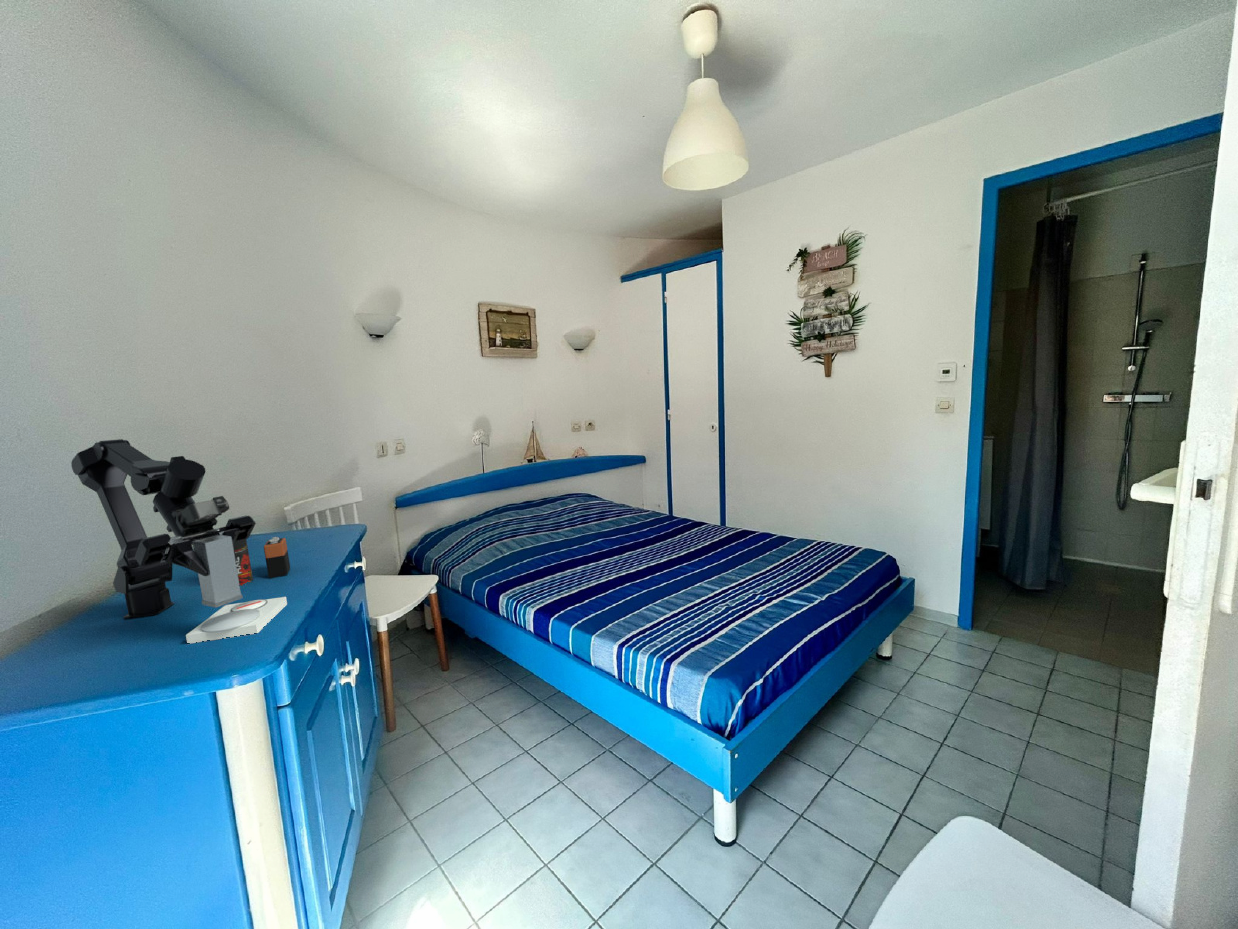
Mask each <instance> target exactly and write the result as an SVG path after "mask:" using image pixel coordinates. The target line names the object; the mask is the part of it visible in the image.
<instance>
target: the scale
mask: <svg viewBox="0 0 1238 929" xmlns="http://www.w3.org/2000/svg"><path fill="white" fill-rule="evenodd" d="M287 605H288V601H287V596H282V597H274V598H268V599H266V598H265V599H256V600H255V599H254V600H248V601H246V602H237V603H231V604H230V603H228V604H225V605H223V606H221V608H219V609H218V610H217V611H216V612H215V613H213V614H211V616H209V617H208V618H207V619H205V620H204V621H202V623H200V624H198V626H196V627H195V628H194V629H192V630H191V631H189V632H188V633H186V635H185V637H186V638H185V639H186V642H187V643H190V644H196V642H197V643H202V641H204V642H208V641H207V640H210V641H216V640H222V638H224V639H227V638H226V637H230V638H235V637H234V636H237V637H241V636H240V635H244V636H247V635H246V634H250V635H255V634H254V633H257V634H258V633H260V632H261V631H262V630H263V629H264V628H265V627H266V626H267V625H268V624H269V623H270V622H271V621H272V620H273V619H274V617H276V616H277V615H278V614H279V613H280V612H281V611H282V610H283V609H284V608H285V607H286V606H287ZM271 619H272V620H271ZM267 623H268V624H267ZM264 626H265V627H264ZM263 627H264V628H263Z"/></svg>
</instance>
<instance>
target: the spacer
mask: <svg viewBox="0 0 1238 929" xmlns="http://www.w3.org/2000/svg"><path fill="white" fill-rule="evenodd" d="M192 543H193V545H192V548H193V551H194V552H195V553H196V555H197V556H198V557H199V559H200V560H201V561H202V563H203V564H204V565H205V567H206V569H207V570H208V576H203V575H201V574H199V573H197V575H198V581H199V586H200V591H201V596H202V597H201V598H202V600H201V605H204V606H207V607H211V608H214V609H215V608H219V607H223V606H225V605H229V604H230V603H232V602H236V601H239V600H242V599H243V594H242V592H241V586H239V580H238V574H237V568H236V562H235V556H234V550H233V544H232V538H231V536H224V535H216V536H211V537H207V538H203V539H199V540H195V541H192Z"/></svg>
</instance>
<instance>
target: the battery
mask: <svg viewBox="0 0 1238 929" xmlns="http://www.w3.org/2000/svg"><path fill="white" fill-rule="evenodd" d="M263 551H264V557H265V563H266V570H267V576H268V578H269V579H273V577H275V578H279V577H278V576H280V577H285V576H288V574H289V572H290V570H291V564H290V558H289V551H288V545H287V539H286V538H285V537H281V538H279V536H274V537H272V538H271V539H269V540H267V541H266V542H265V544H264V545H263ZM284 575H285V576H284Z"/></svg>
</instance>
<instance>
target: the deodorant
mask: <svg viewBox="0 0 1238 929" xmlns="http://www.w3.org/2000/svg"><path fill="white" fill-rule="evenodd" d="M223 527H226V525H225V526H222V527H220V528H223ZM247 540H248V539H246V540H244V541H240V542H236V543H234V551H235V558H236V568H237V574H238V580H239V585H241V586H244V585H243V584H245V583H247V582H250V583H252V582H253V581H254V577H253V571H252V566H251V559H250V552H249V547H248V541H247ZM252 580H253V581H252ZM251 581H252V582H251ZM245 585H246V584H245Z"/></svg>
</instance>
